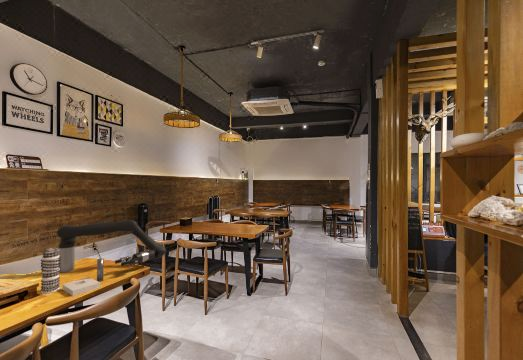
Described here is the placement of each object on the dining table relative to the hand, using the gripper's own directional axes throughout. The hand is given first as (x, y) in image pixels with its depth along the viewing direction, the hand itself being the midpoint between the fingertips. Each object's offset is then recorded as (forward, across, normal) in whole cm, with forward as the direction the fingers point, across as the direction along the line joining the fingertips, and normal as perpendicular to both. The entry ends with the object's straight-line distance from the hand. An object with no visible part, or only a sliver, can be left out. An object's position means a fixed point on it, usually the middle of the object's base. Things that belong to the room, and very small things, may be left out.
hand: (118, 263), depth 170 cm
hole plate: (+23, +4, +8) cm, 25 cm away
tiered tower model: (+35, -8, +8) cm, 37 cm away
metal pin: (+11, 0, +8) cm, 14 cm away
